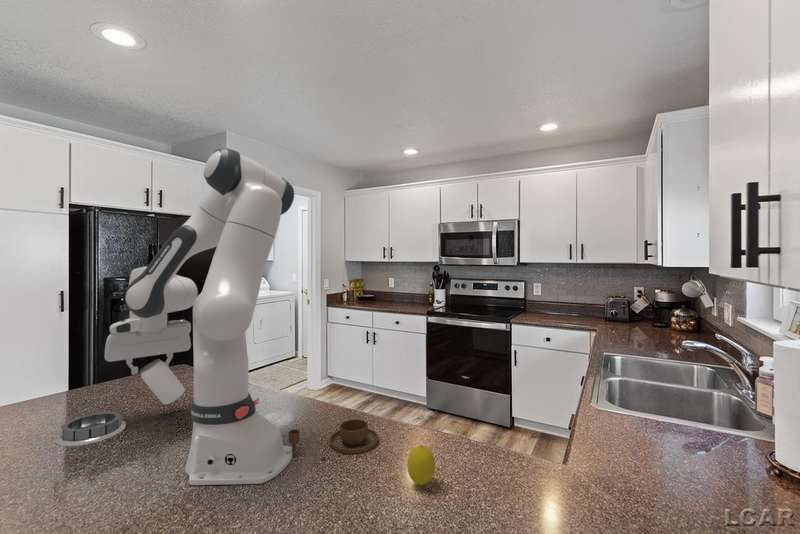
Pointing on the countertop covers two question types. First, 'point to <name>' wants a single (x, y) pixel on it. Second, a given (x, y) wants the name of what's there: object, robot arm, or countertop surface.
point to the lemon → (421, 465)
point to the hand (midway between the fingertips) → (150, 371)
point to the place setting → (344, 437)
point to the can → (162, 382)
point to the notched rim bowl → (90, 429)
